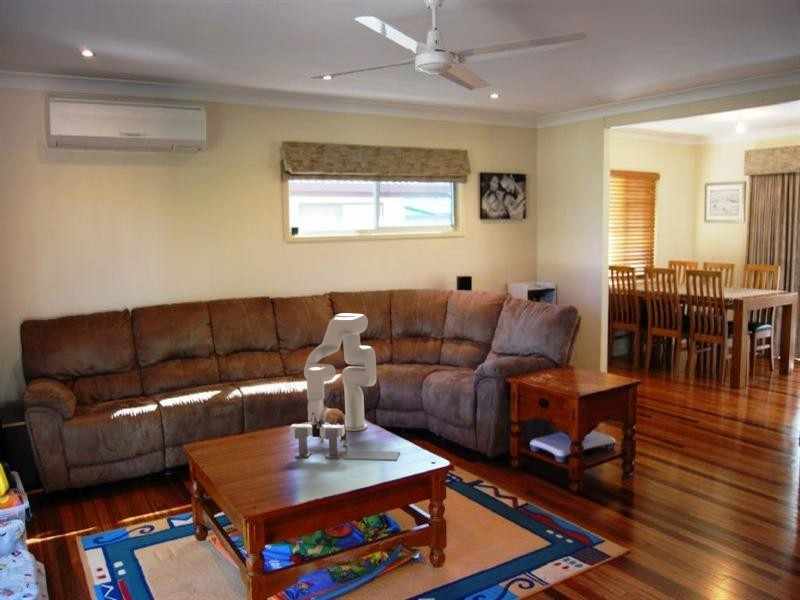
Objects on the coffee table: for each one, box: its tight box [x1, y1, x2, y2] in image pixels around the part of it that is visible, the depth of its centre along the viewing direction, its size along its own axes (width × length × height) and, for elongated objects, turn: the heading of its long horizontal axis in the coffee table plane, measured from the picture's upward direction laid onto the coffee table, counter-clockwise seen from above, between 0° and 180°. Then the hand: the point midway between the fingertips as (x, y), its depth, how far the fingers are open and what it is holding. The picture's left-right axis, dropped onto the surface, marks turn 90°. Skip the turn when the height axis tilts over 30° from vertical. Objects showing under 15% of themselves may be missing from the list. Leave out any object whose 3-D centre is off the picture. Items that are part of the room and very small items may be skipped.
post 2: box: [324, 430, 343, 460], centre depth 300 cm, size 7×6×13 cm
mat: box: [342, 449, 401, 461], centre depth 300 cm, size 10×24×1 cm, turn 81°
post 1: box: [294, 429, 313, 459], centre depth 302 cm, size 7×6×13 cm
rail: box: [289, 423, 345, 437], centre depth 301 cm, size 4×24×4 cm, turn 81°
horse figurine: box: [305, 397, 348, 447], centre depth 318 cm, size 31×8×21 cm, turn 39°
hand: (317, 434), depth 301 cm, fingers closed on rail, 4 cm apart
